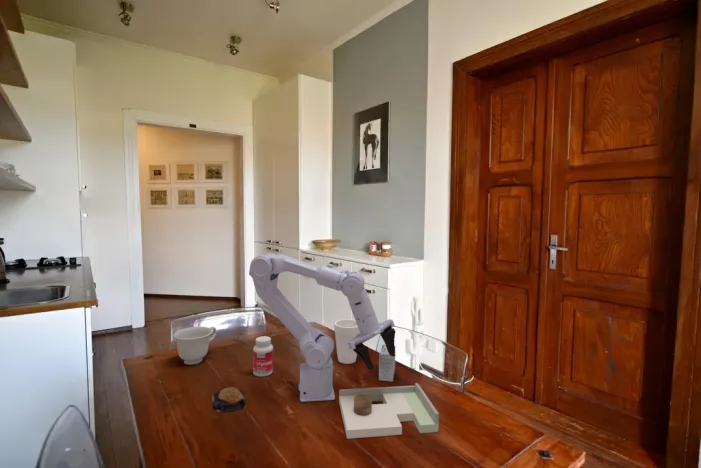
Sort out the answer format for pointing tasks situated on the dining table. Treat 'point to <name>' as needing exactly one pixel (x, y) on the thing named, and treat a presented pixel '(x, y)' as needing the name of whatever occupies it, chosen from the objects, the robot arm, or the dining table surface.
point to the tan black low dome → (229, 400)
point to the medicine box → (386, 365)
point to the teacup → (193, 343)
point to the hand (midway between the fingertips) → (382, 361)
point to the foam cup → (345, 339)
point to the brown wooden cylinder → (362, 405)
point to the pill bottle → (263, 357)
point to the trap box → (388, 411)
